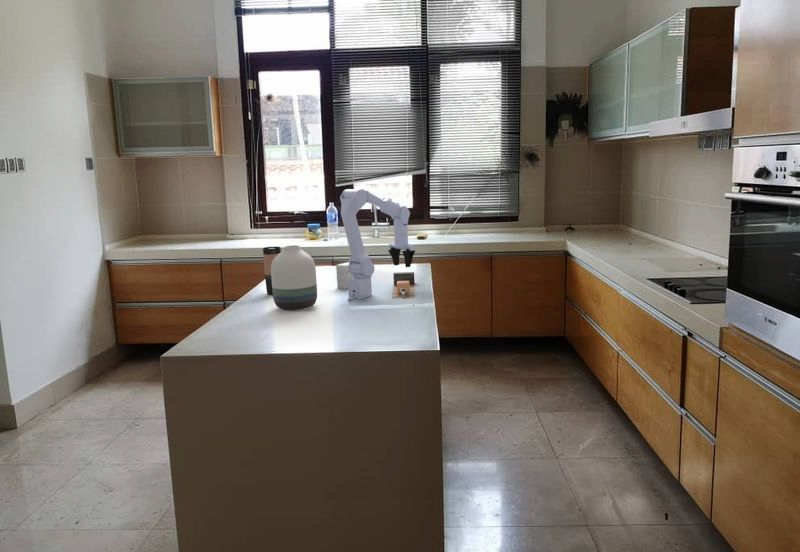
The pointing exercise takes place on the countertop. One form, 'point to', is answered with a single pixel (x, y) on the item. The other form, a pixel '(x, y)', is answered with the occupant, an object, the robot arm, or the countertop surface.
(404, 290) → the rail board
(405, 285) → the slider block
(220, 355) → the countertop surface
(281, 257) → the vase
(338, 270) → the small box
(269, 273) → the travel mug
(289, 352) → the countertop surface
